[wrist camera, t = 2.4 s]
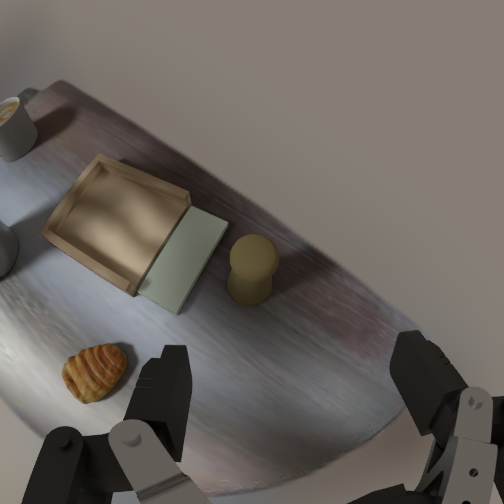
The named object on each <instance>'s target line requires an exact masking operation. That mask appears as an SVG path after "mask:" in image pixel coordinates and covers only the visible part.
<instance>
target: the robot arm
mask: <svg viewBox="0 0 504 504" xmlns="http://www.w3.org/2000/svg"><path fill="white" fill-rule="evenodd" d="M17 254H18V239H17V236H16V234H15V233H14V232H13V231H12V230H11V229H10V228H9V227H8V226H6V225H5V224H4V223H3V222H2V221H1V220H0V278H1V277H3V276H5V275H6V274H7V273H8V272H9V271H10V269H11V268H12V266H13V264H14V262H15V260H16V257H17ZM390 375H391V377H392V379H393V381H394V383H395V385H396V387H397V389H398V391H399V393H400V395H401V396H402V398H403V400H404V402H405V404H406V406H407V408H408V410H409V412H410V414H411V416H412V418H413V420H414V422H415V424H416V426H417V428H418V430H419V432H420V434H421V436H424V435H427V434H431V433H433V435H434V437H435V439H434V441H433V443H432V447H431V450H430V453H429V457H428V460H427V463H426V466H425V469H424V472H423V475H422V477H421V480H420V482H419V484H418V486H417V487H416V489H415V490H414V491H406V490H405V487H404V484H399V485H396V486H393V487H389V488H385V489H381V490H377V491H374V492H371V493H369V494H367V495H365V496H363V497H361V498H359V499H356V500H354V501H352V502H350V503H348V504H489V502H490V497H491V492H492V486H493V481H494V483H495V484H496V487H497V490H498V492H499V495H500V497H501V499H502V502H503V504H504V396H499V397H491V396H490V394H489V393H488V392H487V391H485V390H483V389H481V388H478V387H468V385H467V384H466V383H465V381H464V380H463V378H462V377H461V376H460V374H459V373H458V371H457V370H456V369H455V368H454V366H453V365H452V364H450V361H449V359H448V358H447V357H445V354H444V353H443V352H442V351H441V349H440V348H439V347H438V346H437V345H435V344H434V343H432V342H431V341H429V340H428V341H427V340H426V339H425V338H424V336H423V335H422V334H421V332H420V331H419V330H412V331H405V332H400V333H399V334H398V337H397V340H396V344H395V347H394V351H393V354H392V357H391V361H390ZM191 395H192V374H191V369H190V363H189V358H188V352H187V347H186V345H165V346H164V348H163V351H162V354H161V358H151V359H150V360H149V361H148V362H147V363H146V364H145V365H144V366H143V367H142V370H141V372H140V375H139V379H138V380H137V383H136V388H135V389H134V391H133V394H132V397H131V400H130V403H129V405H128V408H127V411H126V414H125V417H124V419H123V421H122V422H120V423H118V424H116V425H115V426H114V427H113V428H112V429H111V431H110V432H109V433H106V434H102V435H92V436H82V435H81V433H80V432H79V431H78V430H76V429H75V428H73V427H68V426H62V427H58V428H56V429H54V430H52V431H51V432H50V433H49V434H48V435H47V436H46V438H45V441H44V443H43V446H42V448H41V450H40V453H39V455H38V458H37V461H36V463H35V466H34V468H33V471H32V474H31V477H30V479H29V482H28V485H27V488H26V491H25V494H24V497H23V501H22V503H21V504H111V500H112V495H113V492H123V491H133V490H134V491H135V492H136V494H137V497H138V499H139V501H140V503H141V504H212V503H211V502H210V501H209V500H208V499H207V497H206V496H205V495H204V494H203V493H202V491H201V490H200V489H199V488H198V487H197V485H196V484H195V483H194V482H193V481H192V479H191V478H190V477H189V476H188V475H185V474H184V473H183V472H182V471H181V470H180V468H179V467H178V466H177V464H176V463H175V462H181V458H182V451H183V445H184V438H185V432H186V425H187V419H188V413H189V407H190V401H191Z"/></svg>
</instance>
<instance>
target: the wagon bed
mask: <svg viewBox="0 0 504 504" xmlns="http://www.w3.org/2000/svg"><path fill="white" fill-rule="evenodd" d="M191 205H192V204H191V199H190V194H189V191H187V190H185V189H182V188H180V187H178V186H175V185H173V184H171V183H168V182H166V181H164V180H161V179H159V178H157V177H154V176H152V175H150V174H147V173H145V172H143V171H140V170H138V169H135V168H133V167H131V166H128V165H126V164H123V163H121V162H119V161H116V160H114V159H111V158H109V157H106V156H104V155H102V154H98V155H97V156H96V157H95V158H94V160H93V161H92V162H91V163H90V164H89V166H88V167H87V168H86V169H85V170H84V172H83V173H82V174H81V175H80V177H79V178H78V179H77V180H76V182H75V183H74V184H73V186H72V187H71V188H70V190H69V191H68V192H67V194H66V195H65V196H64V198H63V199H62V200H61V202H60V203H59V204H58V206H57V207H56V209H55V210H54V211H53V213H52V214H51V216H50V217H49V219H48V220H47V222H46V223H45V224H44V226H43V227H42V229H41V230H40V232H39V233H40V234H41V235H42V236H43V237H44V238H46V239H47V240H48V241H49V242H50V243H51V244H53V245H54V246H56V247H57V248H58V249H60V250H61V251H63V252H64V253H66V254H67V255H69V256H70V257H71V258H73V259H74V260H76V261H77V262H79V263H80V264H82V265H83V266H85V267H86V268H88V269H89V270H91V271H92V272H94V273H96V274H97V275H99V276H100V277H102V278H103V279H105V280H106V281H108V282H110V283H111V284H113V285H114V286H116V287H118V288H119V289H121V290H122V291H124V292H126V293H127V294H129V295H131V296H132V297H134V295H135V294H136V292H137V290H138V289H139V287H140V285H141V284H142V282H143V280H144V279H145V277H146V275H147V274H148V272H149V270H150V269H151V267H152V265H153V264H154V262H155V260H156V259H157V257H158V256H159V254H160V252H161V251H162V249H163V248H164V246H165V244H166V243H167V241H168V240H169V238H170V237H171V235H172V233H173V232H174V230H175V229H176V227H177V226H178V224H179V223H180V221H181V220H182V218H183V217H184V215H185V214H186V212H187V211H188V209H189V208H190V206H191Z"/></svg>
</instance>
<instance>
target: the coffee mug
mask: <svg viewBox="0 0 504 504" xmlns="http://www.w3.org/2000/svg"><path fill="white" fill-rule="evenodd" d="M37 137H38V131H37V129H36V127H35V125H34V124H33V122H32V120H31V119H30V117H29V115H28V113H27V112H26V110H25V108H24V106H23V104H22V103H21V101H20V99H19V98H18V97H11V98H8V99H6V100H4V101H3V102H1V103H0V155H1V157H2V158H3V159H4V160H5V161H6V162H13V161H16V160H18V159H20V158H21V157H22V156H24V155H25V154H26V153H27V152H28V151H29V150H30V149H31V148H32V147H33V145H34V143H35V142H36V140H37Z"/></svg>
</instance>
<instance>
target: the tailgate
mask: <svg viewBox="0 0 504 504" xmlns="http://www.w3.org/2000/svg"><path fill="white" fill-rule="evenodd" d="M227 228H228V222H226V221H224V220H222V219H220V218H218V217H215V216H213V215H211V214H209V213H207V212H204V211H202V210H200V209H198V208H196V207H193V206H191V207H190V208H189V210H188V211H187V213H186V214H185V216H184V217H183V219H182V220H181V222H180V223H179V225H178V227H177V228H176V230H175V231H174V233H173V234H172V236H171V237H170V239H169V241H168V242H167V244H166V245H165V247H164V248H163V250H162V252H161V253H160V255H159V256H158V258H157V260H156V261H155V263H154V265H153V266H152V268H151V269H150V271H149V273H148V274H147V276H146V278H145V279H144V281H143V283H142V284H141V286H140V288H139V290H138V291H137V292H138V293H139V294H140V295H142V296H144V297H146V298H147V299H149V300H151V301H152V302H154V303H156V304H158V305H159V306H161V307H163V308H165V309H167V310H168V311H170V312H172V313H174V314H176V315H178V313H179V311H180V310H181V308H182V306H183V304H184V302H185V301H186V299H187V297H188V295H189V294H190V292H191V290H192V288H193V287H194V285H195V283H196V281H197V279H198V278H199V276H200V274H201V272H202V271H203V269H204V267H205V265H206V264H207V262H208V260H209V259H210V257H211V255H212V253H213V252H214V250H215V248H216V246H217V245H218V243H219V241H220V240H221V238H222V236H223V234H224V233H225V231H226V229H227Z"/></svg>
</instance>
